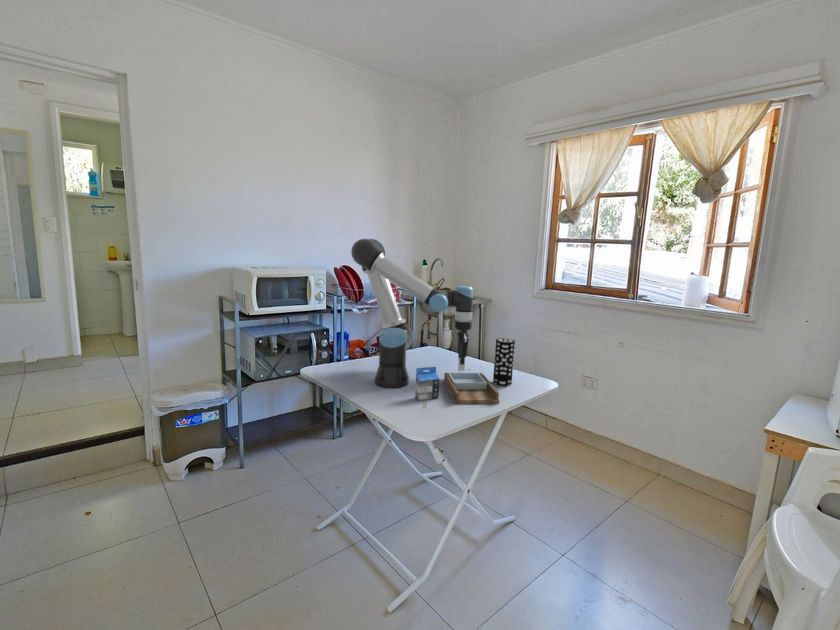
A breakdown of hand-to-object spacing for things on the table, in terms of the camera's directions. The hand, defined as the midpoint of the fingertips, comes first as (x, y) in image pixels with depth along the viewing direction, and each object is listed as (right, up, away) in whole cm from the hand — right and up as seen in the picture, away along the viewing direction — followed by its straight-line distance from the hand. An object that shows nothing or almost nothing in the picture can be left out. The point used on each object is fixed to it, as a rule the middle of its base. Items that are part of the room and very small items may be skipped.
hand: (461, 370), depth 189 cm
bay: (+2, -7, -17) cm, 18 cm away
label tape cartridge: (-16, -8, -25) cm, 31 cm away
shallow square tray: (+1, -4, -12) cm, 13 cm away
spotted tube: (+18, -6, -4) cm, 19 cm away
